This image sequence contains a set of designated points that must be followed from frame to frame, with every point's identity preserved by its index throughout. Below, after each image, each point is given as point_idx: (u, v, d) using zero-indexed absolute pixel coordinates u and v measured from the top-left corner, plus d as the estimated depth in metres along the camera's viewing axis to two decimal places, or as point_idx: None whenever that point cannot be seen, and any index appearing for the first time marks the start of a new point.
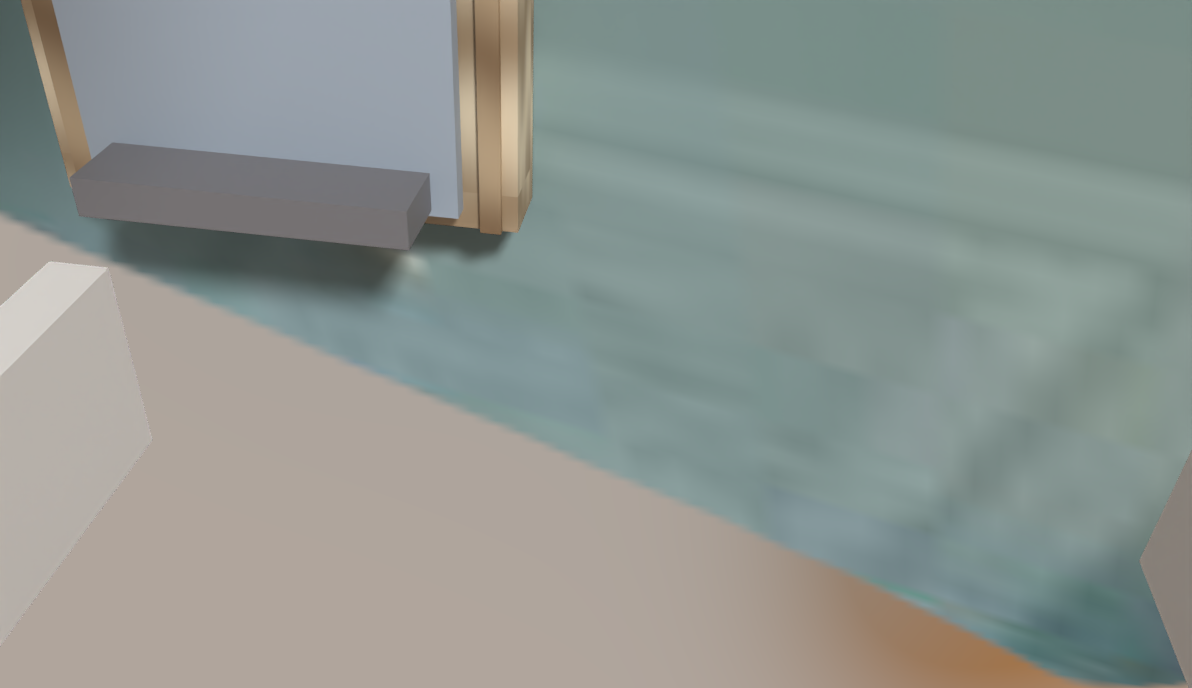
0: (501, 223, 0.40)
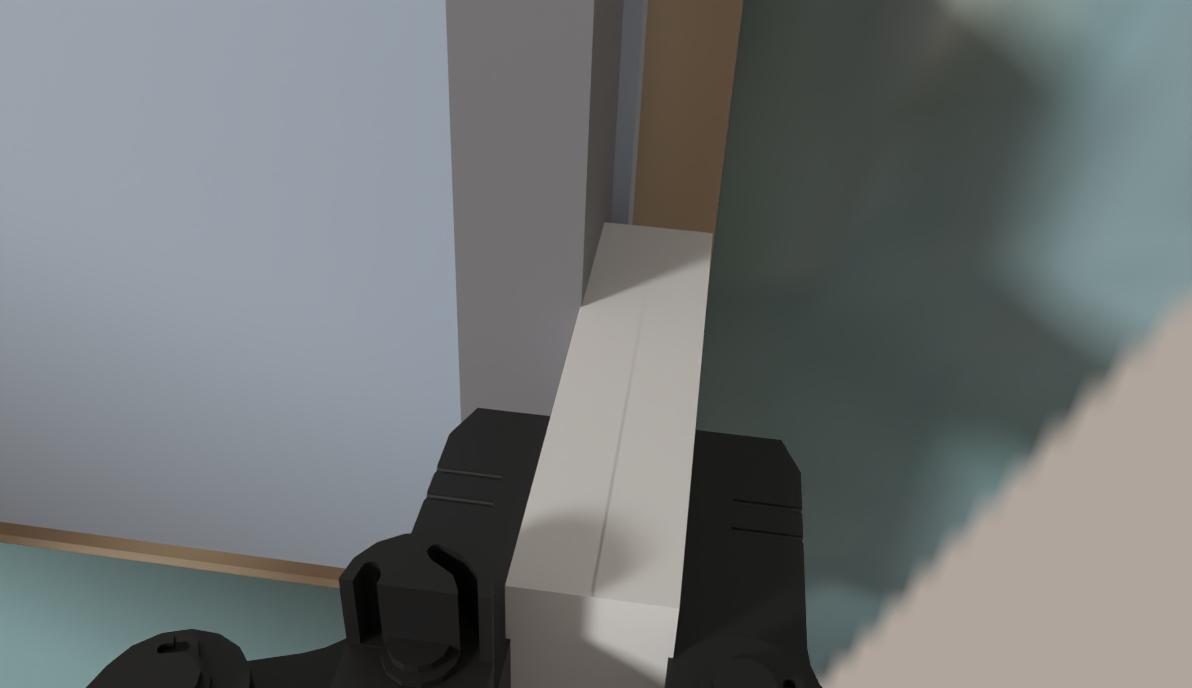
0: None
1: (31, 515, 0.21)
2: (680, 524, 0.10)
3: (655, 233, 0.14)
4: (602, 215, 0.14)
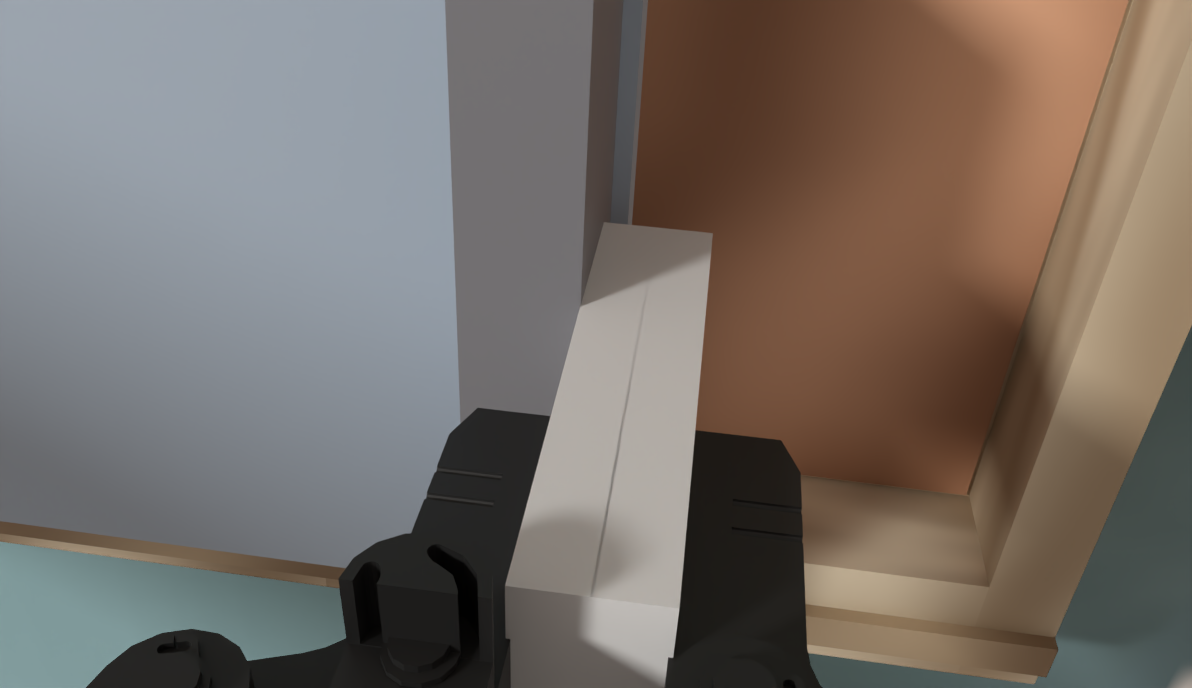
0: None
1: (30, 514, 0.21)
2: (681, 524, 0.10)
3: (656, 233, 0.14)
4: (602, 215, 0.14)
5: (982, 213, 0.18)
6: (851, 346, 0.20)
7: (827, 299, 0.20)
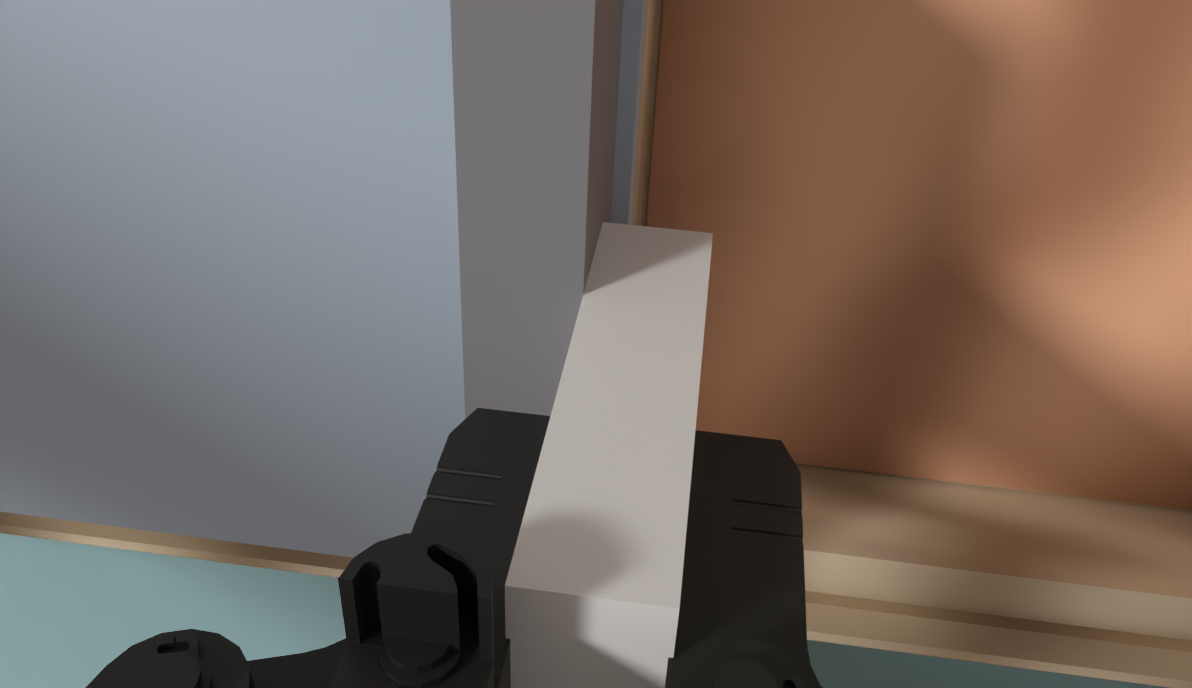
0: None
1: (37, 505, 0.21)
2: (680, 524, 0.10)
3: (656, 233, 0.14)
4: (603, 203, 0.14)
5: None
6: (1168, 369, 0.20)
7: (1152, 322, 0.19)
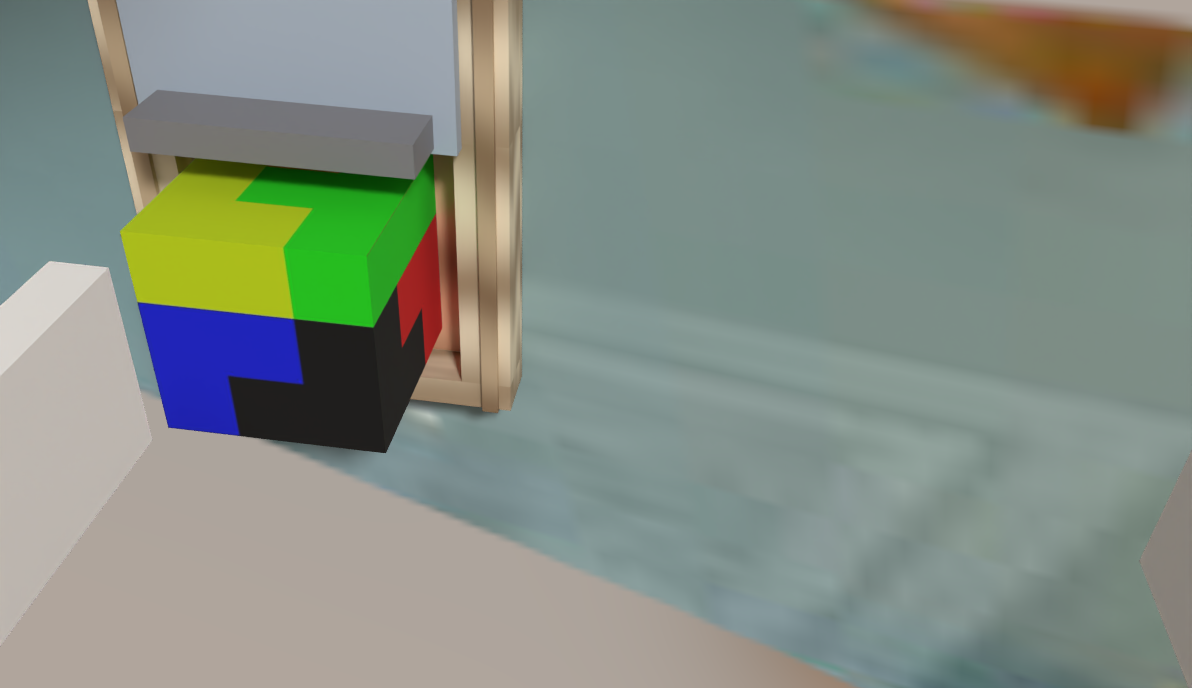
0: (498, 405, 0.54)
1: None
2: None
3: None
4: None
5: None
6: None
7: None
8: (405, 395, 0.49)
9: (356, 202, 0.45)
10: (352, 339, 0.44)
